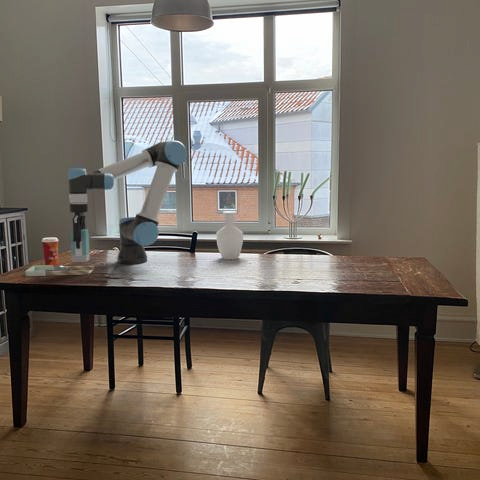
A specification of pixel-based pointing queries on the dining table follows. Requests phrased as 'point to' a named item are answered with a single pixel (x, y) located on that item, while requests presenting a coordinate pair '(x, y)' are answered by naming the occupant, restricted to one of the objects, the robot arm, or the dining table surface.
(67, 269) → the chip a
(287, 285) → the dining table surface
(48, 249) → the paper cup
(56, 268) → the chip
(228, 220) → the vase
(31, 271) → the tray
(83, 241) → the teal tall block
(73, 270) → the slot board
